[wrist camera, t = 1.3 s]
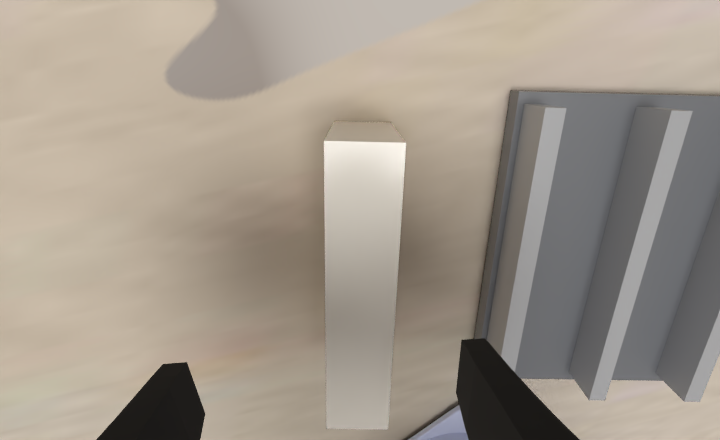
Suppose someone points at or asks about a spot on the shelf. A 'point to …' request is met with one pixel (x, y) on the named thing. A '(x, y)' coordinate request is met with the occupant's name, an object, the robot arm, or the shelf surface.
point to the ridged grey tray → (606, 240)
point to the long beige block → (361, 269)
